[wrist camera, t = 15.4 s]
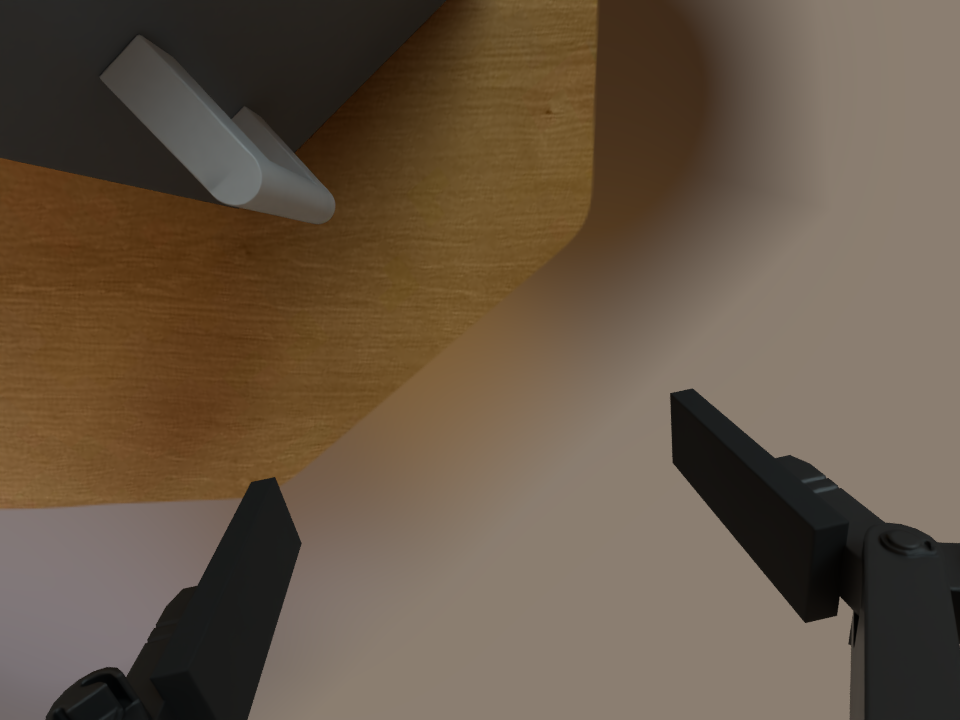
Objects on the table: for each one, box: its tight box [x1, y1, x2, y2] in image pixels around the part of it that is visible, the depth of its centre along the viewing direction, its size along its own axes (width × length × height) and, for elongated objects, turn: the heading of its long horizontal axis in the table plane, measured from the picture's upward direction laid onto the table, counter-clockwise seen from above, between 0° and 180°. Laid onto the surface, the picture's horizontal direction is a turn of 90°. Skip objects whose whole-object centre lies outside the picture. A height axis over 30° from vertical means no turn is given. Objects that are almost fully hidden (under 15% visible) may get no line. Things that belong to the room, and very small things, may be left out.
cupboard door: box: [0, 0, 446, 224], centre depth 21 cm, size 7×24×24 cm, turn 132°
